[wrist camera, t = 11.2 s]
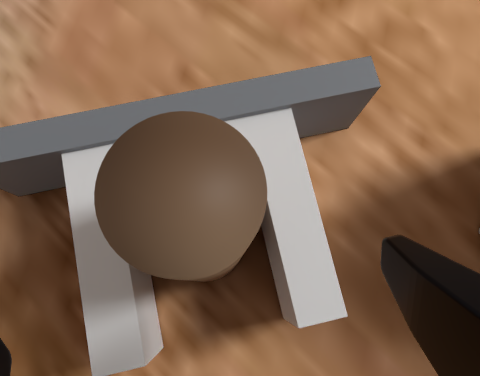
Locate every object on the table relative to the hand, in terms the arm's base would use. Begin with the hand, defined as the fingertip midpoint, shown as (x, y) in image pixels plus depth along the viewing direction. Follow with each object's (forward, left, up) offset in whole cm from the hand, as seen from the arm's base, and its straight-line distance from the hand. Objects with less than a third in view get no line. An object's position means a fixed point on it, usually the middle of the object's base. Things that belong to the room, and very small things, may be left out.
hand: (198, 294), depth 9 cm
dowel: (+2, 0, -12) cm, 12 cm away
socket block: (+2, 0, -12) cm, 12 cm away
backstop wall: (+8, 0, -12) cm, 14 cm away
